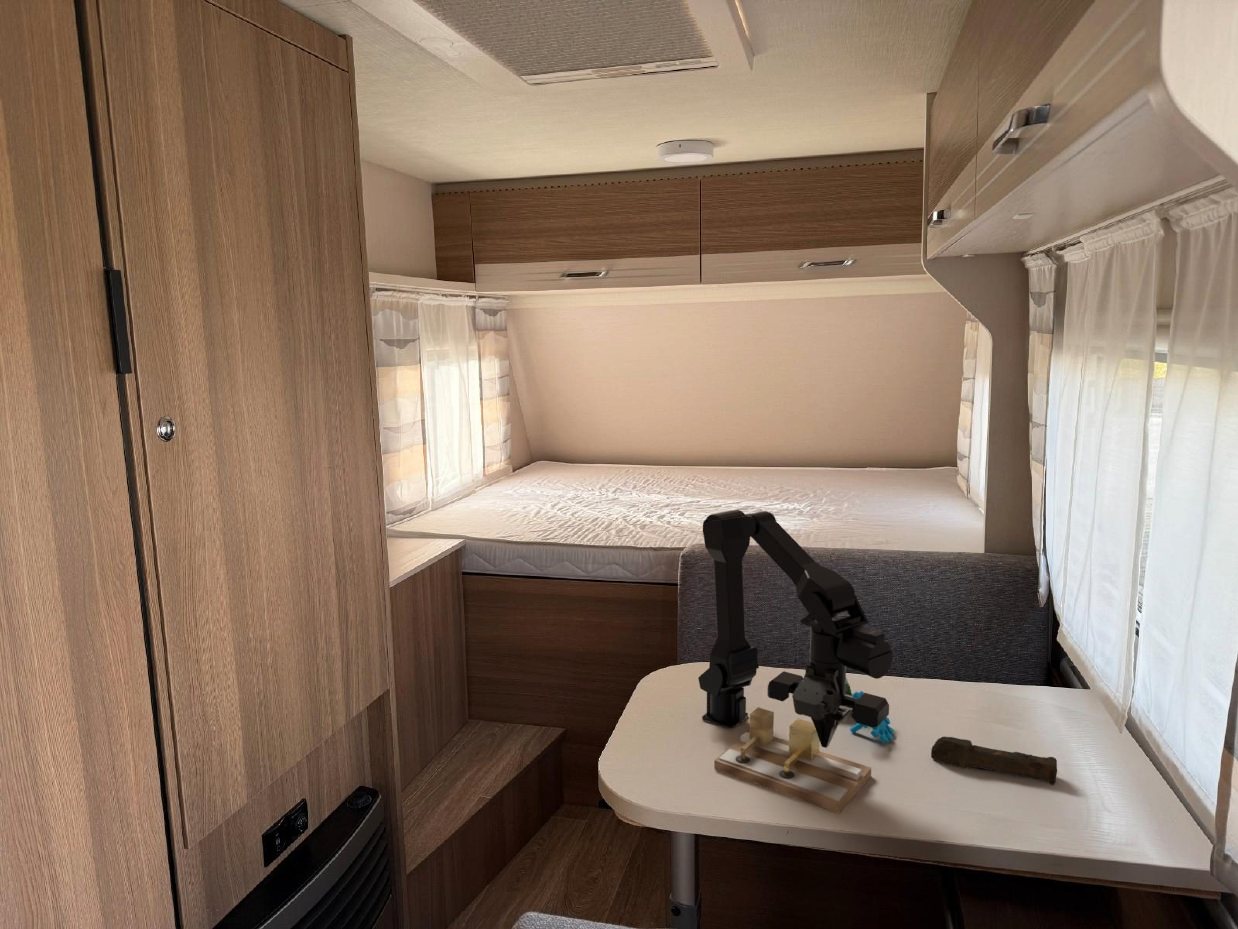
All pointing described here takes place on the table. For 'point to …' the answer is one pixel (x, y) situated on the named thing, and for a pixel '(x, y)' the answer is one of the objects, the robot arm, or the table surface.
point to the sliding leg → (802, 742)
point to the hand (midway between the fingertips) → (825, 746)
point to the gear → (881, 730)
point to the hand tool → (993, 759)
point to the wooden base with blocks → (807, 780)
